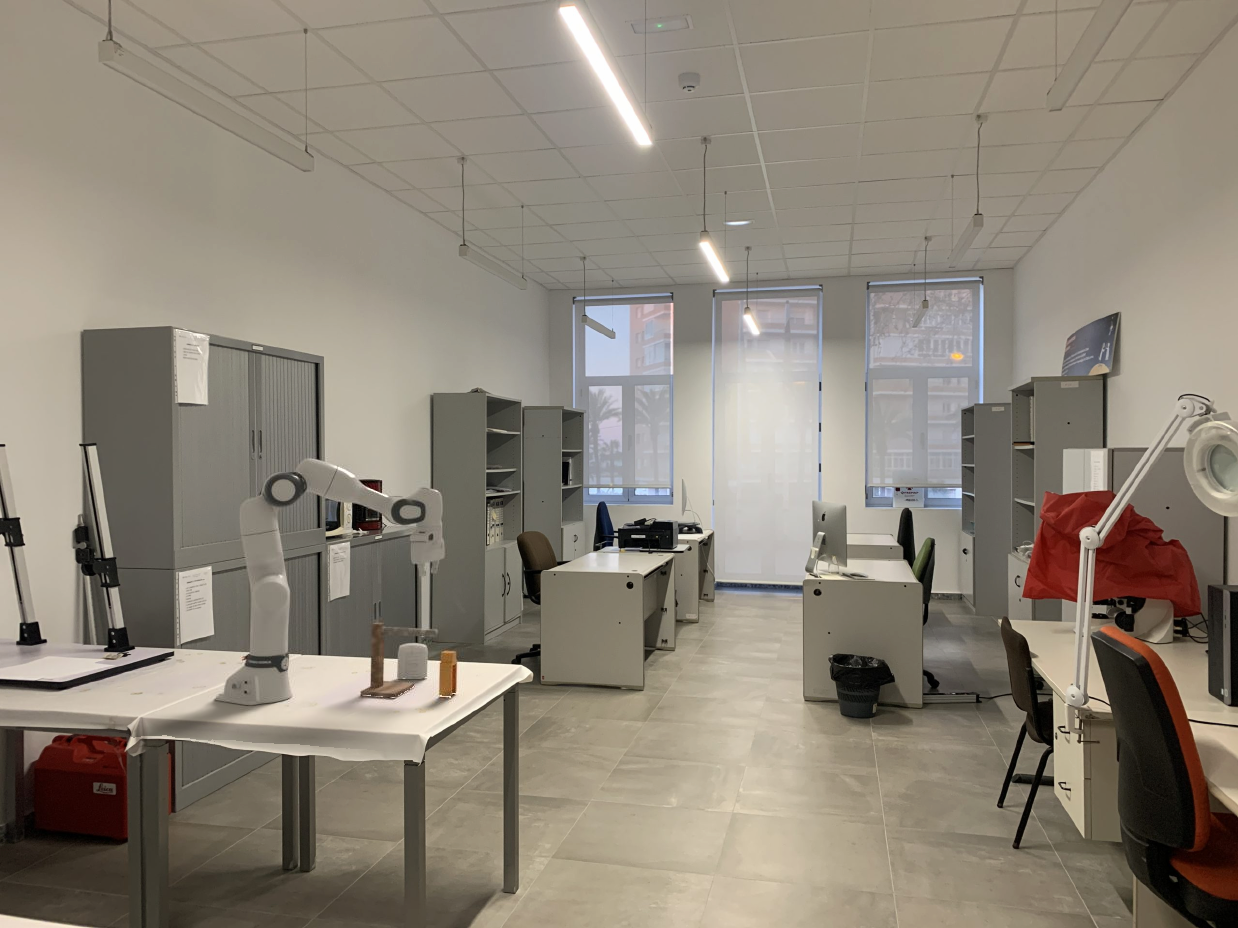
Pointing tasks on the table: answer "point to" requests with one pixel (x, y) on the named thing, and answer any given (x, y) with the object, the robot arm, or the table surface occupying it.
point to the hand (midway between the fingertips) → (428, 574)
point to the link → (448, 673)
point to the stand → (377, 660)
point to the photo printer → (412, 661)
